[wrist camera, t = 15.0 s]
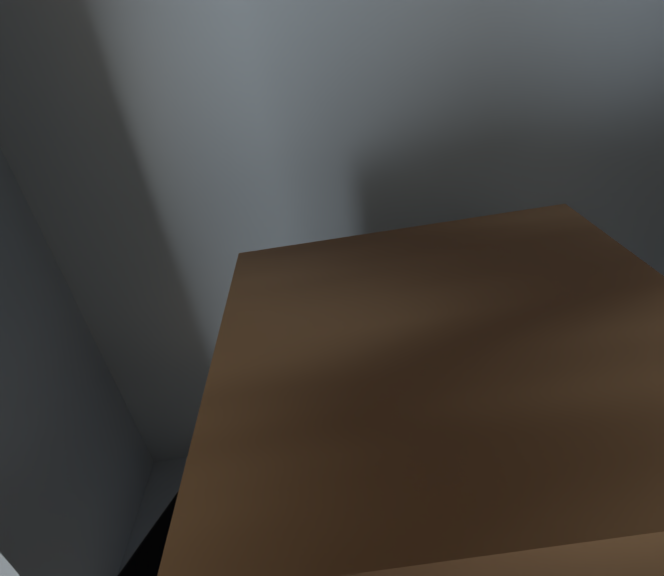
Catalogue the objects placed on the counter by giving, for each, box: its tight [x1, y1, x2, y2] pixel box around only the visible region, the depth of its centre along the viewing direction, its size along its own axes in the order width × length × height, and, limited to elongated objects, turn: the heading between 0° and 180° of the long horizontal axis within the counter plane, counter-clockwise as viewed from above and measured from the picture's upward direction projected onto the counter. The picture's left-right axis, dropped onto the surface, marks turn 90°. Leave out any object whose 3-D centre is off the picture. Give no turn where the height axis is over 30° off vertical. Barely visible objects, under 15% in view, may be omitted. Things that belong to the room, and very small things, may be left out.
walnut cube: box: [157, 204, 664, 576], centre depth 6 cm, size 5×5×5 cm
